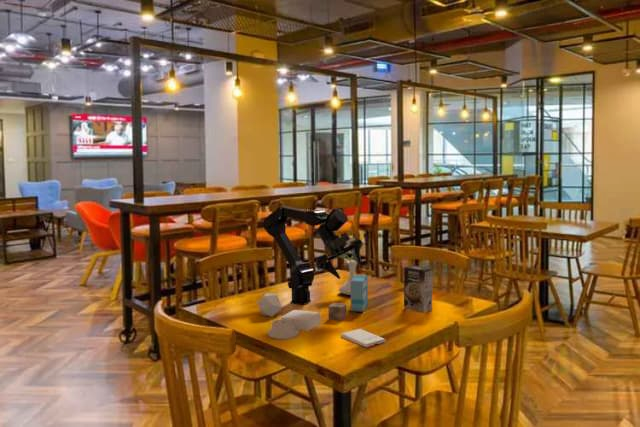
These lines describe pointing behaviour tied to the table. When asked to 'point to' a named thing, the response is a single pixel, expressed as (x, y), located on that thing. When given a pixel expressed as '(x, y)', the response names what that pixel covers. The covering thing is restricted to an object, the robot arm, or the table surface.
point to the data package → (359, 293)
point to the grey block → (303, 319)
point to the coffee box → (418, 288)
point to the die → (269, 304)
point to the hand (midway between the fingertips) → (350, 273)
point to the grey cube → (337, 311)
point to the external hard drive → (363, 337)
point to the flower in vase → (352, 265)
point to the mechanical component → (283, 329)
